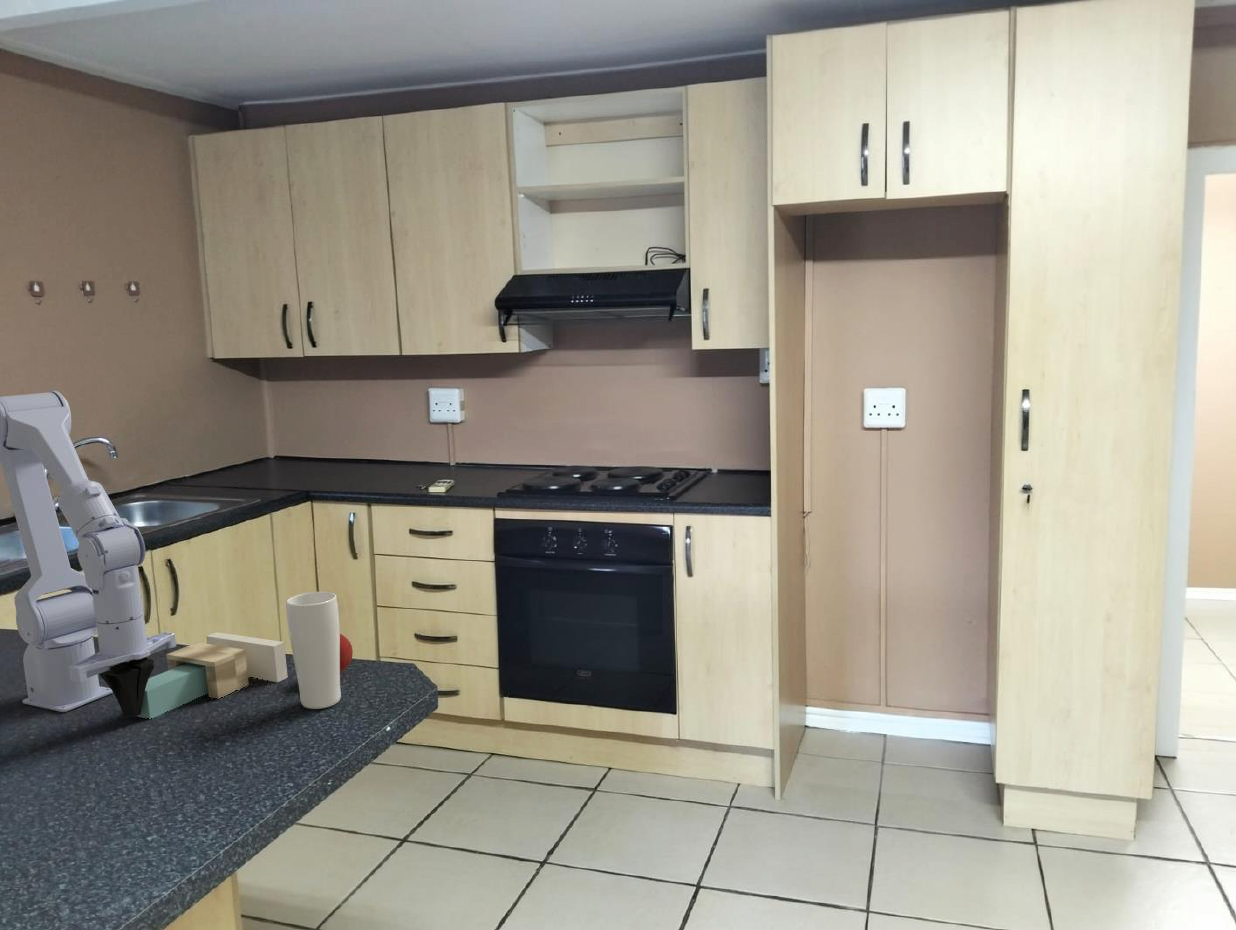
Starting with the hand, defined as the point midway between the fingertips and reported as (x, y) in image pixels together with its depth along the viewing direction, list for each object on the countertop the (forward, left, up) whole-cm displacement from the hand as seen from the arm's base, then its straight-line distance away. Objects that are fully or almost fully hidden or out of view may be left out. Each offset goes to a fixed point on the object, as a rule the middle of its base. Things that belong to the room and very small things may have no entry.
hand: (132, 714), depth 133 cm
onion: (+15, +22, -1) cm, 27 cm away
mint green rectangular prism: (0, +8, -1) cm, 8 cm away
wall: (+1, +19, -1) cm, 19 cm away
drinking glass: (+20, +14, -1) cm, 25 cm away
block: (0, +13, -1) cm, 13 cm away
